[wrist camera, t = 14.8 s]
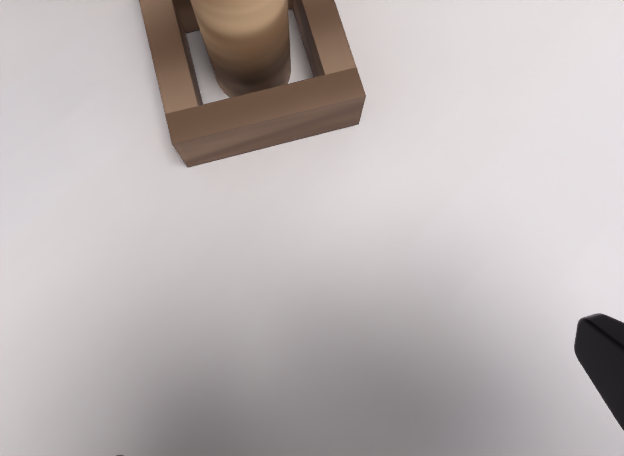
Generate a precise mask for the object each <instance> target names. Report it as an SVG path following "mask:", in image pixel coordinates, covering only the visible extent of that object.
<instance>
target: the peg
mask: <svg viewBox="0 0 624 456" xmlns="http://www.w3.org/2000/svg"><path fill="white" fill-rule="evenodd" d="M190 1H191V4H192V7H193V10H194V13H195V16H196V19H197V22H198V25H199V28H200V31H201V34H202V37H203V40H204V43H205V46H206V49H207V52H208V55H209V58H210V61H211V64H212V67H213V70H214V73H215V76H216V79H217V82H218V84H219V86H220V87H221V89H222V90H223V91H224V92H225V93H226V94H227V95H228V96H229V97H231V98H232V97H237V96H241V95H245V94H249V93H253V92H257V91H261V90H265V89H269V88H273V87H277V86H282V85H286V84H287V83H288V81H289V78H290V74H291V60H290V39H289V19H288V0H190Z"/></svg>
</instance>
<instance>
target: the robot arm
mask: <svg viewBox="0 0 624 456" xmlns="http://www.w3.org/2000/svg"><path fill="white" fill-rule="evenodd" d="M574 349H575V354H576V356H577V358H578V360H579V362H580V363H581V365H582V366H583V368H584V370H585V371H586V373H587V374H588V376H589V378H590V379H591V381H592V382H593V384H594V385H595V387H596V389H597V390H598V392H599V393H600V395H601V397H602V398H603V400H604V401H605V403H606V404H607V406H608V408H609V409H610V411H611V412H612V414H613V415H614V417H615V419H616V420H617V422H618V423H619V424H620V426H621V427H622V429H623V430H624V323H623V322H621V321H618V320H616V319H614V318H612V317H609V316H607V315H604V314H599V313H598V314H593V315H590V316H587V317H583V318H581V319H580V320H579V322H578V325H577V332H576V338H575V344H574ZM118 456H123V455H118Z"/></svg>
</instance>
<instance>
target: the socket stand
mask: <svg viewBox="0 0 624 456" xmlns="http://www.w3.org/2000/svg"><path fill="white" fill-rule="evenodd" d="M139 2H140V7H141V11H142V15H143V20H144V24H145V28H146V33H147V37H148V41H149V46H150V50H151V54H152V59H153V63H154V67H155V72H156V76H157V80H158V85H159V89H160V93H161V98H162V102H163V106H164V111H165V115H166V119H167V124H168V128H169V133H170V137H171V141H172V145H173V146H174V148H175V149H176V151H177V152H178V153H179V155H180V156H181V158H182V159H183V161H184V162H185V164H186V165H187V167H191V166H195V165H199V164H203V163H207V162H211V161H215V160H219V159H223V158H227V157H231V156H235V155H239V154H243V153H247V152H250V151H254V150H258V149H262V148H266V147H270V146H274V145H278V144H282V143H286V142H290V141H294V140H298V139H302V138H306V137H310V136H314V135H318V134H321V133H325V132H329V131H333V130H337V129H341V128H345V127H349V126H353V125H357V124H359V121H360V117H361V113H362V109H363V105H364V101H365V97H366V95H365V92H364V89H363V86H362V83H361V80H360V77H359V74H358V71H357V68H356V65H355V61H354V58H353V55H352V52H351V49H350V46H349V43H348V40H347V37H346V34H345V31H344V28H343V25H342V22H341V19H340V16H339V13H338V10H337V7H336V4H335V1H334V0H288V9H292V8H293V10H294V13H295V17H296V20H297V23H298V26H299V30H300V33H301V36H302V39H303V42H304V46H305V49H306V52H307V55H308V59H309V62H310V65H311V68H312V72H313V75H314V78H310V79H306V80H302V81H298V82H294V83H290V84H286V85H282V86H277V87H273V88H269V89H265V90H261V91H257V92H253V93H249V94H245V95H241V96H237V97H232V98H228V99H224V100H220V101H216V102H212V103H208V104H204V105H203V102H202V98H201V94H200V90H199V86H198V82H197V78H196V74H195V70H194V66H193V62H192V58H191V54H190V50H189V46H188V42H187V38H186V34H185V33H189V32H193V31H197V30H200V28H199V25H198V22H197V19H196V16H195V13H194V10H193V7H192V4H191V1H190V0H139Z"/></svg>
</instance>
